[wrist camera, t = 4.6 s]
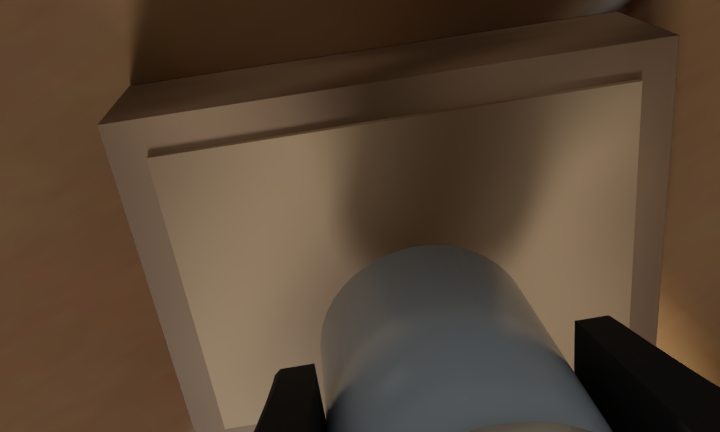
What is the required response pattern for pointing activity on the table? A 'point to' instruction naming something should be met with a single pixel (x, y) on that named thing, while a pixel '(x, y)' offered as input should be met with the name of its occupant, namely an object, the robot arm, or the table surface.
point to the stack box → (394, 188)
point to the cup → (445, 352)
